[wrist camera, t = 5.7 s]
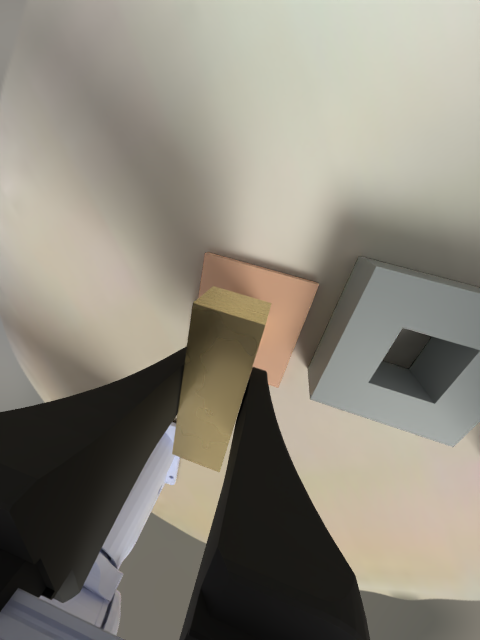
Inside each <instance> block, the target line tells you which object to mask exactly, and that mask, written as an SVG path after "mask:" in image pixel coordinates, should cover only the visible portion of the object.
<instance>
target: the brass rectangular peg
mask: <svg viewBox="0 0 480 640" xmlns="http://www.w3.org/2000/svg"><path fill="white" fill-rule="evenodd" d="M271 304H272V303H269V302H266V301H263V300H259V299H256V298H252V297H249V296H246V295H242V294H239V293H235V292H232V291H229V290H225V289H222V288H218V287H215V286H213V287H212V288H210V289H209V290H208V291H207V292H206V293H204V294H203V295H202V296H201V297H200V298H198V299H197V300H196V301H195V302H194V303H193V307H192V314H191V321H190V329H189V336H188V343H187V350H186V357H185V364H184V372H183V379H182V386H181V393H180V400H179V408H178V415H177V422H176V429H175V436H174V443H173V451H172V454H173V455H176V456H178V457H181V458H183V459H186V460H189V461H191V462H194V463H197V464H199V465H202V466H204V467H207V468H210V469H212V470H215V471H217V472H220V469H221V466H222V462H223V459H224V456H225V453H226V450H227V446H228V443H229V440H230V437H231V434H232V430H233V427H234V424H235V421H236V418H237V415H238V411H239V408H240V405H241V402H242V399H243V395H244V392H245V389H246V386H247V383H248V379H249V376H250V373H251V370H252V367H253V363H254V360H255V357H256V354H257V351H258V347H259V344H260V341H261V338H262V335H263V331H264V328H265V325H266V322H267V318H268V314H269V311H270V307H271Z"/></svg>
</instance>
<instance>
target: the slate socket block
mask: <svg viewBox="0 0 480 640" xmlns="http://www.w3.org/2000/svg"><path fill="white" fill-rule="evenodd" d="M402 328H405V329H408V330H412V331H415V332H418V333H422V334H425V335H429V336H432V338H431V339H430V340H429V342H428V343H427V345H426V346H425V347H424V349H423V350H422V352H421V353H420V354H419V356H418V357H417V359H416V360H415V361H414V363H413V364H412V366H411V367H410V369H407V368H403V367H400V366H397V365H394V364H390V363H387V362H384V361H382V360H383V358H384V357H385V355H386V354H387V352H388V351H389V349H390V347H391V346H392V344H393V343H394V341H395V339H396V338H397V336H398V335H399V333H400V331H401V330H402ZM308 379H309V392H310V400H313V401H316V402H319V403H322V404H325V405H328V406H331V407H334V408H337V409H340V410H343V411H346V412H349V413H352V414H355V415H358V416H361V417H364V418H367V419H370V420H373V421H376V422H379V423H382V424H385V425H388V426H391V427H394V428H397V429H400V430H403V431H406V432H409V433H412V434H415V435H418V436H421V437H424V438H427V439H430V440H433V441H436V442H439V443H442V444H445V445H448V446H451V447H454V446H455V445H456V444H457V443H458V442H459V441H460V440H461V439H462V438H463V437H464V436H465V435H466V434H467V433H468V432H469V431H470V430H472V429H473V428H474V427H475V426H476V425H477V424H478V423H479V422H480V287H476V286H473V285H469V284H465V283H461V282H457V281H453V280H450V279H446V278H442V277H438V276H434V275H430V274H427V273H423V272H419V271H415V270H411V269H407V268H404V267H400V266H396V265H392V264H388V263H384V262H381V261H377V260H373V259H369V258H365V257H361V256H359V257H358V259H357V262H356V264H355V266H354V268H353V270H352V273H351V275H350V277H349V279H348V281H347V284H346V286H345V288H344V290H343V292H342V295H341V297H340V299H339V301H338V303H337V306H336V308H335V310H334V312H333V314H332V317H331V319H330V321H329V323H328V325H327V328H326V330H325V332H324V334H323V336H322V339H321V341H320V343H319V345H318V347H317V350H316V352H315V354H314V356H313V358H312V361H311V363H310V365H309V367H308Z"/></svg>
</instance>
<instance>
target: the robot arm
mask: <svg viewBox="0 0 480 640" xmlns="http://www.w3.org/2000/svg"><path fill="white" fill-rule="evenodd" d="M186 350H187V347H185V348H183V349H181V350H179V351H178V352H176V353H174V354H172V355H170V356H169V357H167V358H165V359H163V360H161V361H159V362H157V363H155V364H153V365H151V366H149V367H147V368H145V369H143V370H141V371H139V372H137V373H135V374H132V375H130V376H128V377H126V378H123V379H121V380H118V381H115V382H113V383H110V384H107V385H105V386H102V387H99V388H96V389H93V390H89V391H86V392H83V393H79V394H76V395H73V396H70V397H66V398H62V399H58V400H55V401H51V402H47V403H42V404H38V405H34V406H29V407H25V408H21V409H15V410H10V411H5V412H0V640H124V639H122V638H120V637H118V636H116V634H117V631H118V627H119V622H120V615H121V608H120V605H121V594H120V592H119V591H118V590H116V588H117V587H118V585H119V583H120V581H121V578H122V576H123V573H122V572H120V571H119V570H118V569H119V567H120V565H121V563H122V561H123V560H124V559H125V558H126V557H127V555H128V554H129V553H130V551H131V550H132V548H133V547H134V545H135V543H136V541H137V539H138V537H139V535H140V533H141V531H142V529H143V527H144V525H145V523H146V521H147V519H148V517H149V515H150V513H151V511H152V509H153V507H154V505H155V503H156V501H157V499H158V497H159V495H160V492H161V490H162V488H163V486H164V484H165V483H167V484H170V485H174V484H175V482H176V478H177V472H178V466H179V461H180V457H178V456H176V455H173V454H172V451H173V443H174V436H175V429H176V423H174V422H172V421H173V420H174V418H175V417H176V415H177V414H178V408H179V400H180V393H181V386H182V379H183V372H184V364H185V357H186ZM179 640H370V637H369V631H368V626H367V620H366V616H365V612H364V608H363V603H362V599H361V596H360V592H359V588H358V584H357V580H356V576H355V574H354V572H353V571H352V569H351V568H350V566H349V564H348V563H347V561H346V560H345V558H344V556H343V555H342V553H341V552H340V550H339V548H338V547H337V545H336V544H335V542H334V540H333V539H332V537H331V535H330V533H329V532H328V530H327V528H326V527H325V525H324V523H323V521H322V520H321V518H320V516H319V514H318V512H317V511H316V509H315V507H314V505H313V503H312V501H311V499H310V497H309V495H308V493H307V491H306V489H305V487H304V485H303V483H302V481H301V479H300V477H299V475H298V473H297V471H296V469H295V467H294V465H293V462H292V460H291V458H290V456H289V453H288V451H287V448H286V446H285V443H284V440H283V438H282V435H281V432H280V429H279V426H278V423H277V420H276V416H275V413H274V409H273V405H272V401H271V396H270V391H269V385H268V376H267V372H266V371H265V370H262V369H259V368H256V367H252V371H251V374H250V377H249V380H248V383H247V387H246V390H245V393H244V396H243V399H242V403H241V406H240V409H239V413H238V416H237V419H236V424H235V429H234V435H233V440H232V445H231V450H230V455H229V460H228V465H227V470H226V475H225V479H224V483H223V487H222V491H221V494H220V498H219V501H218V505H217V508H216V512H215V516H214V519H213V523H212V526H211V530H210V533H209V537H208V541H207V544H206V548H205V551H204V555H203V558H202V562H201V565H200V569H199V572H198V576H197V579H196V583H195V587H194V590H193V593H192V597H191V601H190V604H189V608H188V611H187V615H186V618H185V622H184V625H183V629H182V632H181V636H180V639H179Z"/></svg>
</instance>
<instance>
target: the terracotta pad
mask: <svg viewBox="0 0 480 640" xmlns="http://www.w3.org/2000/svg"><path fill="white" fill-rule="evenodd" d="M213 286H215V287H218V288H222V289H225V290H229V291H232V292H235V293H239V294H242V295H246V296H249V297H252V298H256V299H259V300H263V301H266V302H269V303H272V304H271V307H270V311H269V314H268V318H267V322H266V325H265V328H264V331H263V335H262V338H261V341H260V344H259V347H258V351H257V354H256V357H255V360H254V363H253V367H256V368H259V369H262V370H265V371H266V372H267V376H268V385H271V386H274V387H277V388H278V387H279V385H280V382H281V380H282V377H283V375H284V372H285V370H286V367H287V365H288V362H289V359H290V357H291V354H292V352H293V349H294V347H295V344H296V342H297V339H298V337H299V334H300V332H301V329H302V327H303V324H304V322H305V319H306V317H307V314H308V312H309V309H310V307H311V304H312V302H313V299H314V297H315V294H316V292H317V289H318V287H319V283H317V282H314V281H310V280H306V279H303V278H299V277H296V276H292V275H288V274H285V273H281V272H278V271H274V270H270V269H267V268H263V267H260V266H256V265H253V264H249V263H245V262H242V261H238V260H235V259H231V258H227V257H224V256H220V255H217V254H213V253H209V252H206V253H205V255H204V262H203V269H202V276H201V282H200V289H199V296H198V298H200V297H201V296H202V295H203V294H204V293H206V292H207V291H208V290H209V289H210V288H212V287H213ZM251 371H252V370H251ZM250 374H251V373H250ZM249 377H250V376H249Z"/></svg>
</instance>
